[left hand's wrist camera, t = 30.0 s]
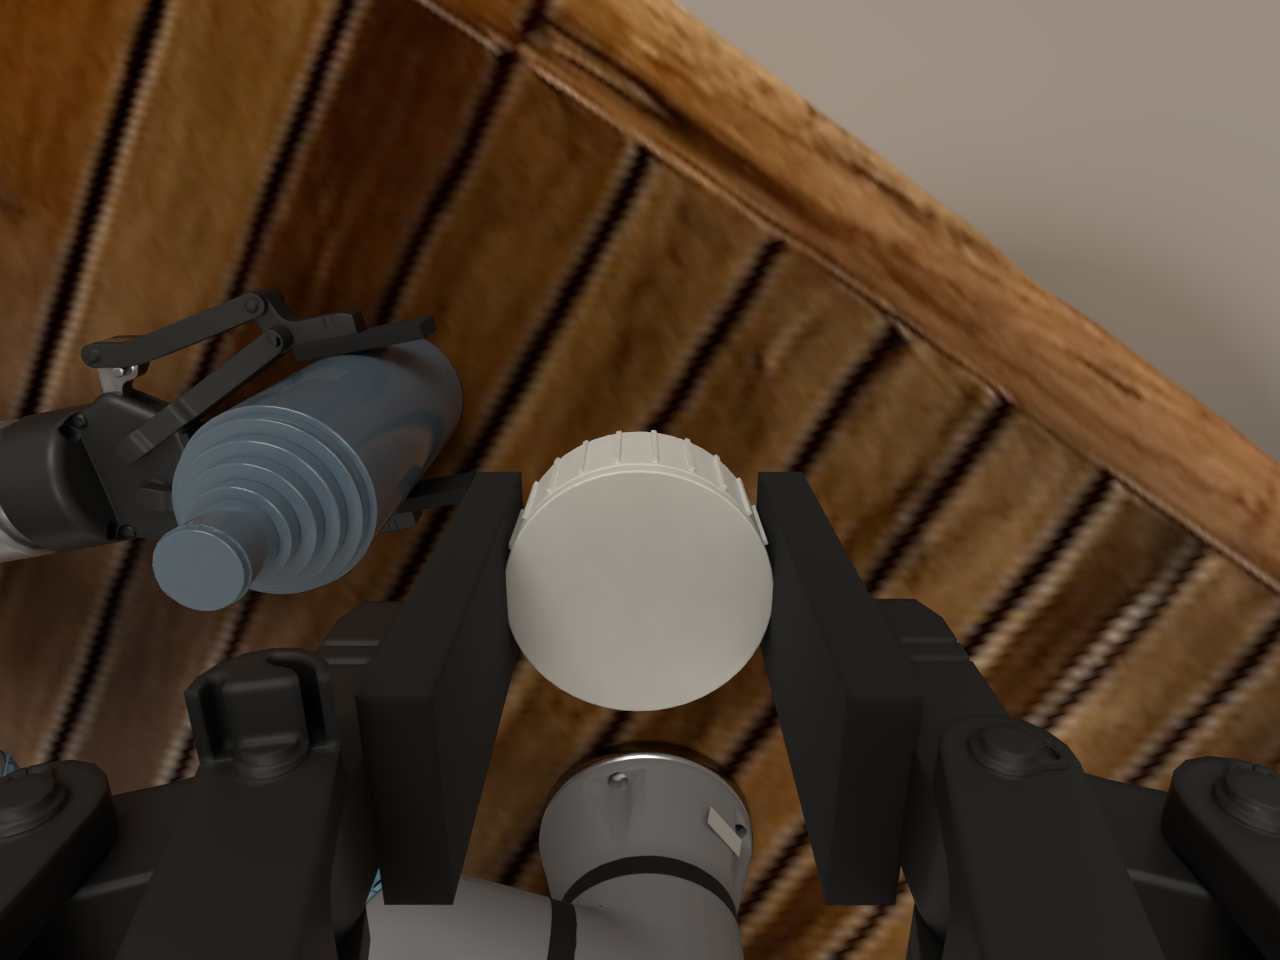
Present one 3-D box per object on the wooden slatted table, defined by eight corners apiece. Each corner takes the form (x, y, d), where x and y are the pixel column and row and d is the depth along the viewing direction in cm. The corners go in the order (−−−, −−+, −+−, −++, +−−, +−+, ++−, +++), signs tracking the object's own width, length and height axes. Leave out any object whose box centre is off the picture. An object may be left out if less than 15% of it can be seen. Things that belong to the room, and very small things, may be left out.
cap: (616, 376, 13) (613, 408, 12) (811, 525, 14) (836, 577, 12) (470, 562, 15) (445, 618, 13) (658, 688, 16) (660, 758, 14)
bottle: (411, 303, 47) (211, 410, 25) (489, 418, 49) (369, 609, 27) (301, 372, 48) (21, 532, 26) (382, 482, 51) (186, 711, 29)
